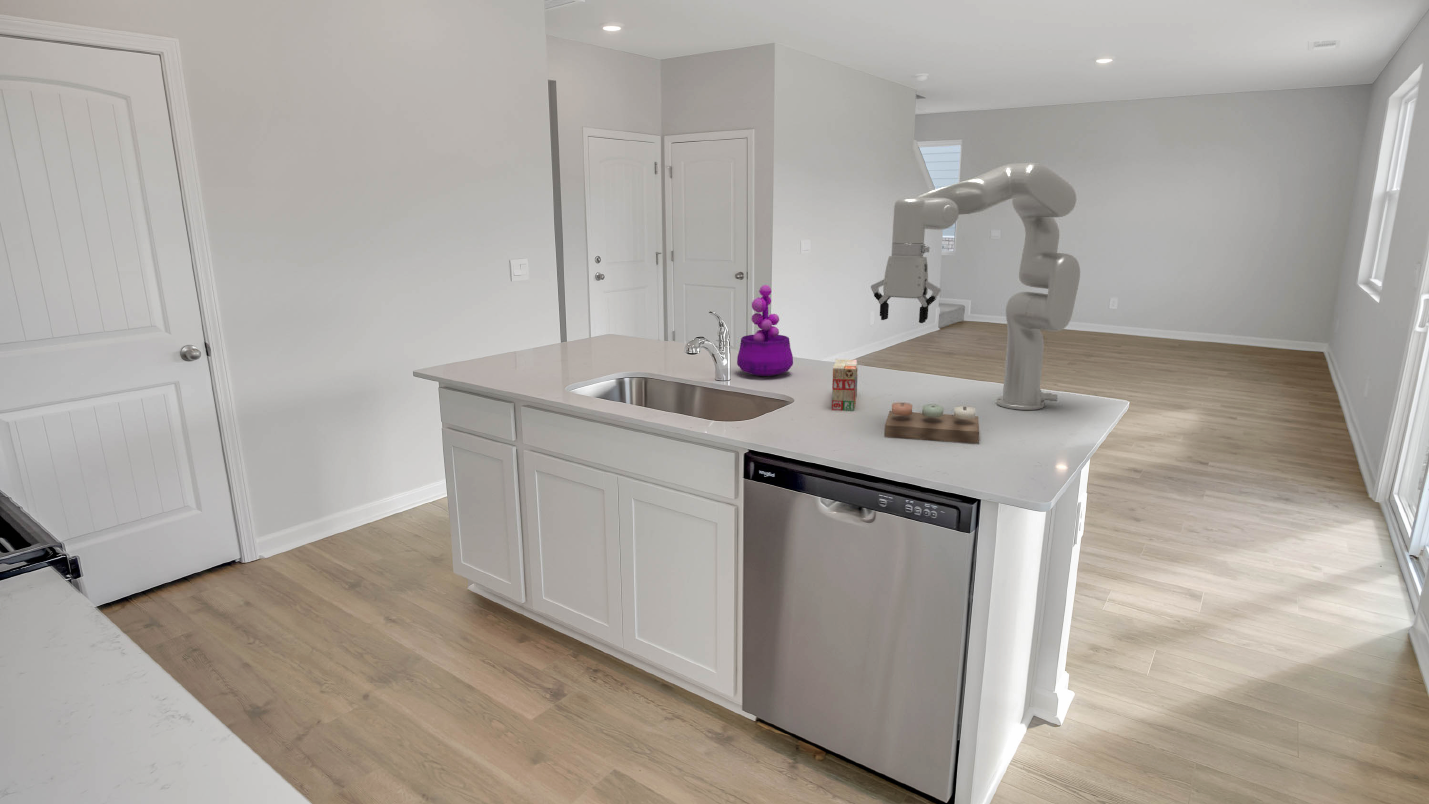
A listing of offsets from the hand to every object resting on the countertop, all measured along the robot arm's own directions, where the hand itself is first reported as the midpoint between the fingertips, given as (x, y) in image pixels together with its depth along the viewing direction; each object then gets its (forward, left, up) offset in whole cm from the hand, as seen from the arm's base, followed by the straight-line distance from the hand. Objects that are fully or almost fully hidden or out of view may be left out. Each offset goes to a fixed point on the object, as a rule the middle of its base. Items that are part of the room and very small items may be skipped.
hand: (903, 321), depth 193 cm
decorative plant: (+48, -53, -28) cm, 76 cm away
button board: (-8, +3, -27) cm, 29 cm away
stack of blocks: (+17, -23, -28) cm, 40 cm away
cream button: (-16, +3, -23) cm, 28 cm away
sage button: (-8, +3, -23) cm, 24 cm away
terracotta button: (-1, +3, -23) cm, 23 cm away
